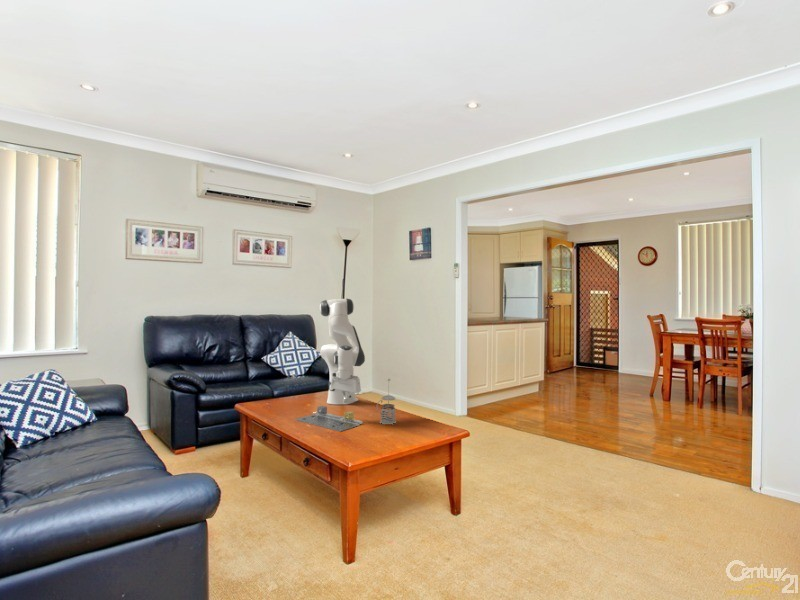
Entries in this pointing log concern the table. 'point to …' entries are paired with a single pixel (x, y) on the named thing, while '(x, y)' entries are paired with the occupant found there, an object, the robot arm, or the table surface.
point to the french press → (387, 419)
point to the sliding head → (348, 415)
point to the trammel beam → (323, 412)
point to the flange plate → (327, 422)
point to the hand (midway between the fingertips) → (345, 398)
